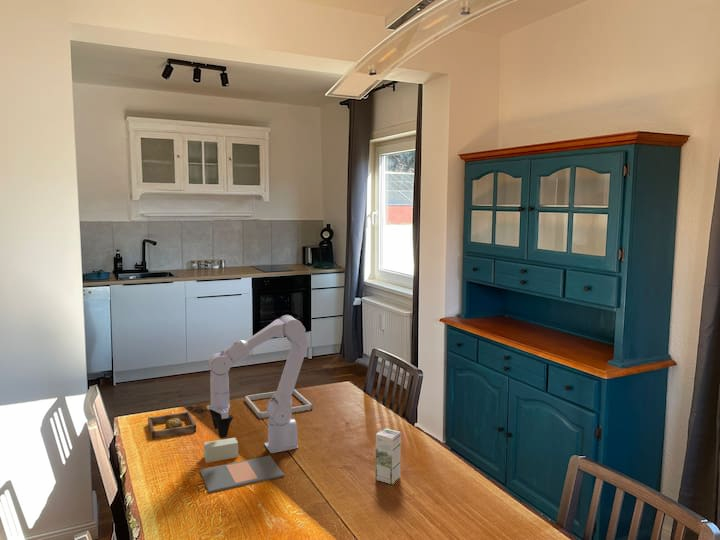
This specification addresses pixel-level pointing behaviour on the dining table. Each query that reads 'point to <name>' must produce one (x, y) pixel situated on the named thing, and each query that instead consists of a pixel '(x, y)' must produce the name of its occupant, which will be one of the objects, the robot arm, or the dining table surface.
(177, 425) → the fruit
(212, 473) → the mat
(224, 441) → the block
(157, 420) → the fruit rim
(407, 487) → the dining table surface
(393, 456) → the syrup box
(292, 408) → the box rim
